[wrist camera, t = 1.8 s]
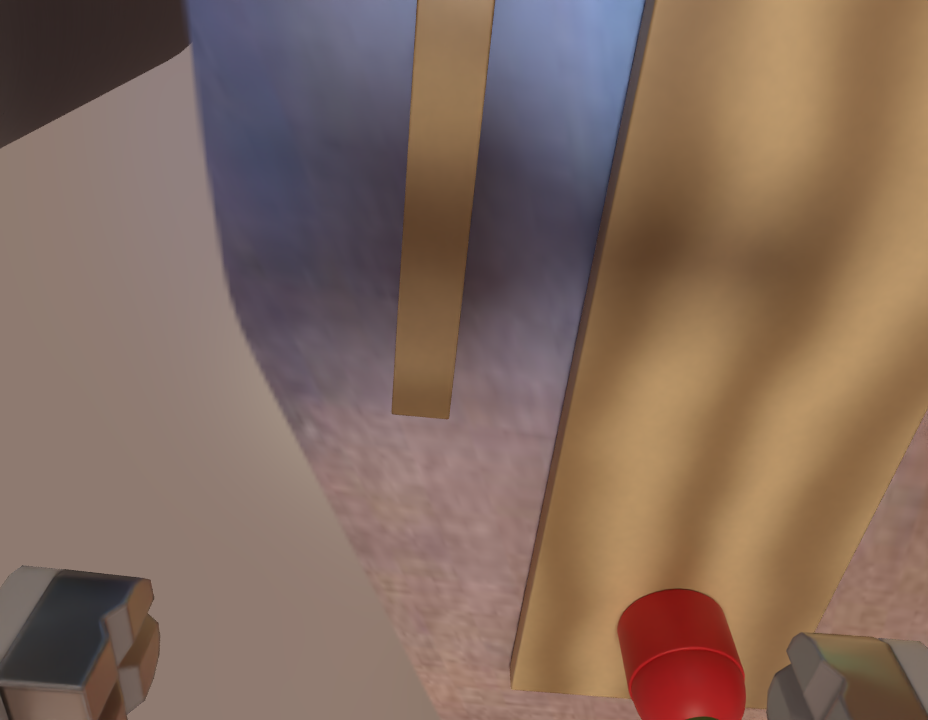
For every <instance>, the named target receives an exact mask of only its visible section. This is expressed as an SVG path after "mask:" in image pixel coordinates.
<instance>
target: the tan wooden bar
mask: <svg viewBox="0 0 928 720" xmlns="http://www.w3.org/2000/svg"><path fill="white" fill-rule="evenodd" d="M494 7H495V0H417V10H416V26H415V42H414V58H413V74H412V91H411V107H410V123H409V139H408V155H407V171H406V187H405V203H404V220H403V236H402V252H401V268H400V284H399V300H398V316H397V332H396V349H395V365H394V381H393V397H392V414H395V415H406V416H417V417H428V418H439V419H449V414H450V405H451V396H452V387H453V378H454V369H455V360H456V351H457V342H458V333H459V324H460V315H461V306H462V297H463V287H464V278H465V269H466V260H467V251H468V242H469V233H470V224H471V215H472V206H473V197H474V188H475V179H476V170H477V161H478V152H479V143H480V134H481V125H482V115H483V106H484V97H485V88H486V79H487V70H488V61H489V52H490V43H491V34H492V25H493V16H494Z"/></svg>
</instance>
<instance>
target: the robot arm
mask: <svg viewBox="0 0 928 720" xmlns="http://www.w3.org/2000/svg"><path fill="white" fill-rule="evenodd" d="M153 600H154V594H153V589H152V585H151V580H149V579H145V578H139V577H129V576H119V575H111V574H102V573H93V572H84V571H74V570H66V569H64V570H63V569H53V568H42V567H33V566H21V567H20V568H18V569H17V570H16V571H14V572H13V573H11V574H10V575H9V576H8V577H7V579H6V580H5V582H4V583H3V584H2V586H1V587H0V720H128V719H127V714H128V713H130V712H131V711H132V710H133V709H135V708H136V707H137V706H139V705H140V704H141V703H142V702H144V701H145V699H146V697H147V694H148V692H149V689H150V687H151V684H152V681H153V679H154V675H155V671H156V666H157V662H158V658H159V651H160V632H159V624H158V622H157V621H156V620H155V619H153V618H152V617H151V616H150V615H149V614H148V611H149V609H150V607H151V605H152V602H153ZM786 652H787V655H788V657H789V660H790V662H791V664H789V665H788V666H786V667H784V668H783V669H781V670H780V671H778V672H776V673H775V674H774V677H773V679H772V681H771V684H770V686H769V689H768V692H767V710H766V713H767V719H768V720H928V648H927V647H926V646H925V645H924V644H922V643H921V642H920V641H908V640H896V639H884V638H878V639H877V638H874V637H866V636H852V635H838V634H823V633H809V632H800V633H799V634H797V635H796V636H794V637H793V638H792V640H791V642H790V644H789V646H788V648H787V650H786Z"/></svg>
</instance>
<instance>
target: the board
mask: <svg viewBox="0 0 928 720" xmlns="http://www.w3.org/2000/svg"><path fill="white" fill-rule="evenodd" d="M927 409H928V0H646V2H645V7H644V12H643V17H642V22H641V27H640V32H639V37H638V41H637V46H636V51H635V56H634V61H633V66H632V71H631V76H630V81H629V86H628V91H627V95H626V100H625V105H624V110H623V115H622V120H621V125H620V130H619V135H618V140H617V144H616V149H615V154H614V159H613V164H612V169H611V174H610V179H609V184H608V189H607V194H606V198H605V203H604V208H603V213H602V218H601V223H600V228H599V233H598V238H597V243H596V247H595V252H594V257H593V262H592V267H591V272H590V277H589V282H588V287H587V292H586V297H585V301H584V306H583V311H582V316H581V321H580V326H579V331H578V336H577V341H576V346H575V351H574V355H573V360H572V365H571V370H570V375H569V380H568V385H567V390H566V395H565V400H564V404H563V409H562V414H561V419H560V424H559V429H558V434H557V439H556V444H555V449H554V454H553V458H552V463H551V468H550V473H549V478H548V483H547V488H546V493H545V498H544V503H543V507H542V512H541V517H540V522H539V527H538V532H537V537H536V542H535V547H534V552H533V557H532V561H531V566H530V571H529V576H528V581H527V586H526V591H525V596H524V601H523V606H522V610H521V615H520V620H519V625H518V630H517V635H516V640H515V645H514V650H513V655H512V660H511V664H510V682H511V689H512V690H523V691H536V692H549V693H562V694H575V695H588V696H601V697H613V698H626V699H631V697H630V695H629V691H628V685H627V680H626V675H625V670H624V664H623V659H622V654H621V649H620V643H619V638H618V633H617V628H618V623H619V620H620V618H621V616H622V614H623V613H624V612H625V610H626V609H627V608H628V607H629V606H630V605H631V604H633V603H634V602H635V601H637V600H639V599H640V598H642V597H644V596H647V595H649V594H652V593H655V592H659V591H664V590H672V589H684V590H691V591H695V592H699V593H702V594H704V595H706V596H708V597H710V598H711V599H713V600H714V601H715V602H716V603H718V604H719V606H720V607H721V608H722V610H723V612H724V614H725V617H726V620H727V623H728V626H729V629H730V632H731V635H732V638H733V641H734V643H735V646H736V649H737V652H738V655H739V658H740V661H741V664H742V667H743V670H744V673H745V682H744V683H745V688H746V705H745V708H756V709H767V692H768V689H769V686H770V684H771V681H772V679H773V677H774V674H775V673H776V672H778V671H780V670H781V669H783V668H784V667H786V666H788V665H789V664H791V662H790V660H789V657H788V655H787V652H786V650H787V648H788V646H789V644H790V642H791V640H792V638H793V637H794V636H796V635H797V634H799V633H800V632H809V633H814V632H815V630H816V628H817V626H818V624H819V622H820V620H821V618H822V616H823V614H824V612H825V610H826V608H827V606H828V604H829V602H830V600H831V598H832V596H833V594H834V592H835V590H836V588H837V586H838V584H839V582H840V581H841V579H842V577H843V575H844V573H845V571H846V569H847V567H848V565H849V563H850V561H851V559H852V557H853V555H854V553H855V551H856V549H857V547H858V545H859V543H860V541H861V539H862V537H863V535H864V533H865V531H866V529H867V527H868V525H869V523H870V521H871V519H872V517H873V515H874V513H875V511H876V509H877V507H878V506H879V504H880V502H881V500H882V498H883V496H884V494H885V492H886V490H887V488H888V486H889V484H890V482H891V480H892V478H893V476H894V474H895V472H896V470H897V468H898V466H899V464H900V462H901V460H902V458H903V456H904V454H905V452H906V450H907V448H908V446H909V444H910V442H911V440H912V438H913V436H914V434H915V433H916V431H917V429H918V427H919V425H920V423H921V421H922V419H923V417H924V415H925V413H926V411H927Z"/></svg>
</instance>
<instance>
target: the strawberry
mask: <svg viewBox="0 0 928 720" xmlns="http://www.w3.org/2000/svg"><path fill="white" fill-rule="evenodd" d="M617 633H618V638H619V643H620V649H621V654H622V659H623V664H624V670H625V675H626V680H627V685H628V691H629V695H630V697H631V699H632V700H633V702H634V704H635V707H636V709H637V712H638V714H639V716H640V717H641V719H642V720H741V719H742V717H743V714H744V710H745V705H746V688H745V683H744V682H745V673H744V670H743V667H742V664H741V661H740V658H739V655H738V652H737V649H736V646H735V643H734V641H733V638H732V635H731V632H730V629H729V626H728V623H727V620H726V617H725V614H724V612H723V610H722V608H721V607H720V606H719V604H718V603H716V602H715V601H714V600H713V599H711V598H710V597H708V596H706V595H704V594H702V593H699V592H695V591H691V590H684V589H672V590H664V591H659V592H655V593H652V594H649V595H647V596H644V597H642V598H640V599H639V600H637V601H635V602H634V603H633V604H631V605H630V606H629V607H628V608H627V609H626V610H625V612H624V613H623V614H622V616H621V618H620V620H619V623H618V628H617Z"/></svg>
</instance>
